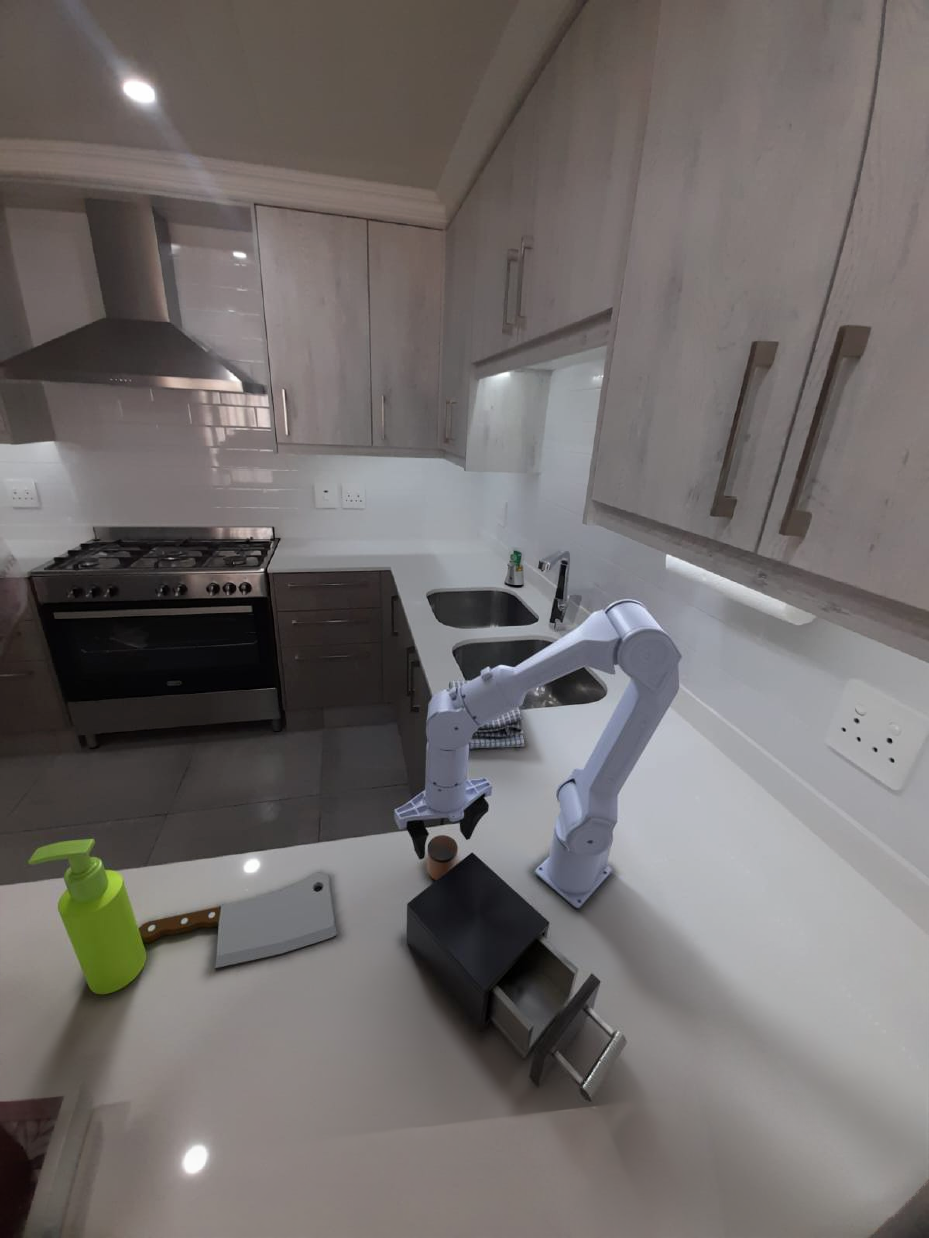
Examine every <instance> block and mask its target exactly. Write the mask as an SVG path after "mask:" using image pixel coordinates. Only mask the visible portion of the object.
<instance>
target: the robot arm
mask: <svg viewBox="0 0 929 1238" xmlns="http://www.w3.org/2000/svg"><path fill="white" fill-rule="evenodd" d="M682 658H683V655H682V652H681V651H680V650H679V648H678V647H677V645H676V643H675V642H674V640H673V638H672V637H671V636H670V634H668V633H667V632H666V631H665V630H663V628H662V626H660V625H659V623H658V622H657V621H656V620H655V618H654V617H653V616H652V614H651V613H650V610H648V609H647V607H646V606H645V605H644V604H643V603H642V602H640V601H638V600H635V599H633V598H632V599H631V598H624V599H623V598H622V599H619V600H616V601H614V602H612V603H611V604H609V605H608V606H607V607H606V608H605V609H600V610H597V611H594V612H593V613H591V614H590V615H589V616H588V617H587V618H586V620H584V621H583V622H582V623H581V624H580V625H579V626H577V627H576V628H575V629H573V630H572V631H570V632H568V633H567V634H565V635H564V636H562V637H561V638H559V639H558V640H556V641H554V642H553V643H550V645H548V646H546V647H545V648H543V649H541V650H540V651H538V652H537V653H535V654H533V655H532V656H530V657H529V658H527V659H525V660H523V661H522V662H521V663H519V664H517V665H516V666H509V665H506V664H499V665H497V666H495V667H493V668H491V667H490V666H486V667H485V668H483V669H482V670H480V675H479V676H477V677H475V678H473V679H471V680H468V681H469V682H468V683H466V684H464V685H462V686H460V687H459V688H457V687H454V688H452V689H449V688H448V689H442V690H440V691H437V693H434V695H433V696H432V697H431V698H430V700H429V702H428V703H427V710H428V711H427V716H426V722H425V735H426V740H427V742H426V747H425V750H426V751H425V781H424V782H425V783H424V786H425V787H424V790H423V791H421V792H420V793H419V794H416V795H415V796H414V797H413V798H412V799H410V800H409V801H408V802H406V803H405V804H403V805H402V806H400V807H397V808H394V812H393V815H394V818H393V819H394V822H395V824H396V826H397V827H398V830H399V831H400V830H404V829H406V831H407V833H408V834H409V836H410V838H411V842H412V845H413V850H414V852H415V854H416V856H417V858H418V859H419V860H423V859H425V856H426V844H427V840H428V837H429V835H430V833H429V831H428V829H427V827H426V826H425V820H434V819H446V818H447V819H448V820H449V822H452V823H455V822H457V821H459V831H460V833H461V834H462V836H463V838H464V839H465V841H469V840H470V839H471V838H472V836H473V834H474V831H475V829H476V827H477V825H478V824H479V822H480V820H481V819H482V818H483V817H484V816H485V815H486V814H487V813H488V812H489V809H490V805H489V804H490V803H489V802H488V801H487V799H486V798H488V797H491V796H492V791H493V785H492V783H491V782H490V781H489V779H487V777H486V776H484V777H482V778H481V777H480V778H477V779H476V778H475V779H468V768H469V767H468V766H469V756H470V755H469V753H470V748H469V745H468V743H469V742H470V740H471V738H472V735H473V733H474V732H476V731H478V728H479V727H481V726H483V725H485V724H487V723H489V722H491V721H493V720H495V719H497V718H499V717H501V716H503V715H504V714H506V713H508V712H510V711H512V710H514V709H516V708H518V707H519V708H520V707H522V706H523V705H524V701H525V698H526V696H527V693H528V692H531V691H533V690H535V689H537V688H539V687H542V686H544V685H546V684H548V683H551V682H553V681H555V680H558V679H560V678H562V677H564V676H567V675H569V674H570V673H573V672H576V671H578V670H580V669H582V668H585V667H588V668H591V669H594V670H596V671H599V672H603V673H605V674H608V675H612V676H613V675H616V669H615V666H619V668H620V670H621V671H622V672H623V673H624V674H625V675H626V676H627V677H629V678H630V681H629V682H628V684H627V686H626V688H625V690H624V692H623V694H622V696H621V698H620V699H619V700H618V702H617V705H616V707H615V709H614V711H613V713H612V714H611V716H610V718H609V719H608V722H607V724H606V726H605V728H604V730H603V731H602V733H601V735H600V737H599V739H598V740H597V742H596V745H594V746H595V747H594V749H593V750H592V753H591V754H590V756H589V758H588V760H587V761H586V763H585V765H584V767H575V768H573V770H572V772H571V774H570V775H569V776H568V777H567V778H565V779H564V780H563V781H562V782H560V783H559V785H558V786H557V788H556V792H555V793H556V795H555V796H556V799H557V802H558V804H559V810H560V812H559V814H558V816H557V817H556V820H555V822H554V828H553V834H552V838H551V839H552V840H551V845H550V850H549V855H548V857H547V858H546V859H545V860H544V861H543V862H542V863H541V864H540V865H538V866H537V868H536V869H535V871H534V873H535V875H536V876H538V878H540V879H541V880H542V881H543V882H545V883H546V884H547V885H548V886H549V887H551V889H553V891H555V892H556V893H557V894H559V895H560V896H561V897H563V899H565V900H566V901H567V902H568V903H569V904H570V905H572V906H573V907H574V908H576V909H580V908H581V907H582V906H583V905H584V903H586V901H587V900H588V899H590V897H591V896H592V894H594V892H595V891H596V890H597V889H598V888H599V886H601V885H602V883H604V881H605V880H606V879H607V878H608V877H609V876H610V874H611V873H612V869H613V868H612V867H611V866H610V865H608V861H609V857H610V853H611V850H612V849H611V848H612V845H613V841H614V829H615V827H616V826H617V824H618V810H619V809H618V807H619V806H618V805H619V803H618V801H619V800H618V799H619V797H618V796H619V793H620V792H621V790H622V789H623V786H625V783H626V781H627V780H628V778H629V776H630V774H631V773H632V771H633V770H634V768H635V766H636V764H637V763H638V761H639V760H640V758H641V756H642V754H643V753H644V751H645V749H646V747H647V745H648V744H649V743H650V741H651V739H652V738H653V735H654V734H655V732H656V730H657V728H658V727H659V726H660V724H661V722H662V720H663V719H664V717H665V715H666V713H667V711H668V709H669V708H670V707H671V704H672V702H673V701H674V700H675V698H676V696H677V695H678V692H679V690H680V670H679V663H680V662H681V659H682Z"/></svg>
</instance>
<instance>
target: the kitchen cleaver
mask: <svg viewBox="0 0 929 1238" xmlns="http://www.w3.org/2000/svg"><path fill="white" fill-rule="evenodd" d="M319 887H321V888H322V889H321V890H319V891H315V889H316V888H319ZM330 888H331V886H330V879H329V875H328V874H325V873H322V872H319V871H318V872H317V873H314V874H313V875H311V876H310V877H308V878H306V879H304V880H302V881H300V882H298V883H296V884H293V885H290V886H288V887H286V888H285V887H284V888H283V889H280V890H277V891H274V892H270V893H267V894H264V895H261V896H258V897H254V898H250V899H246V900H241V901H237V902H232V903H228V904H224V905H219V906H216V907H210V908H205V909H201V910H197V911H192V912H188V913H182V914H177V915H173V916H169V917H163V918H159V919H154V920H150V921H147V922H145V923H143V924H142V925H140V926H139V927H138V929H139V932H140V935H141V938H142V941H143V944H146V943H152V942H155V940H158V939H159V938H161V937H162V936H167V935H173V936H175V935H179V934H182V933H188V932H191V931H194V930H196V929H199V928H202V927H203V928H208V929H211V928H216V927H217V928H218V929H217V944H216V958H215V964H214V969H219V968H223V967H227V966H232V965H237V964H241V963H246V962H251V961H256V960H259V959H264V958H269V957H272V956H277V955H282V954H286V953H288V952H292V951H295V950H298V949H301V948H304V947H308V946H311V945H313V944H317V943H320V942H323V941H327V940H330V939H332V938H334V937H336V936H337V935H338V933H337V927H336V925H335V918H334V917H335V916H334V909H333V902H332V901H333V900H332V894H331V893H332V892H331V889H330Z"/></svg>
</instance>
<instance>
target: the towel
mask: <svg viewBox="0 0 929 1238" xmlns="http://www.w3.org/2000/svg"><path fill="white" fill-rule="evenodd" d="M469 681H470V680H450V681H449V683H448V690H449V689H452V688H454V687H457V688H459V687H460V686H462V685H464V684H466V683H468V682H469ZM522 721H524V718H523V716H522V712H521V710H520V707H518V708H516V709H514V710H512V711H510V712H508V713H506V714H504V715H503V716H501V717H499V718H497V719H495V720H493V721H491V722H489V723H487V724H485V725H483V726H481V727H479V728H478V731H476V732H474V733H473V735H472V738H471V740H470V742H469V743H468V745H469V750H470V749H471V750H472V749H484V748H485V749H489V748H490V749H491V748H492V749H493V748H510V747H512V748H514V747H516V748H519V747H520V748H523V747H525V745H526V743H525V738H524V735H525V733H524V730H523V723H522Z"/></svg>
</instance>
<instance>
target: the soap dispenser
mask: <svg viewBox="0 0 929 1238" xmlns="http://www.w3.org/2000/svg"><path fill="white" fill-rule="evenodd" d="M95 844H96V841H95V838H85V839H84V838H83V839H74V840H66V841H58V842H54V843H50V844H47V845H43V846H41V847H38V848H36V850H35V851H34V852H33V854H32V855H31V857H30V859H29V860H28V861H27V864H28V865H31V866H35V865H40V864H42V863H47V862H52V861H59V860H68V863H69V867H68V868H67V869H66V871H65V872H64V874H63V881H64V884H65V887H66V889H65V891H64V892H63V893H62V894H61V896H60V897H59V900H58V903H57V910H58V913H59V916H60V918H61V921H62V924H63V925H64V927H65V931H66V933H67V936H68V938H69V941H70V943H71V945H72V948H73V951H74V953H75V956H76V958H77V960H78V963H79V965H80V968H81V970H82V973H83V976H84V978H85V980H86V984H87V985H88V988H89V989H90V991H91V992H92V993H94V994H97V995H108V994H111V993H115V992H118V991H119V990H121V989H123V988H124V987H126V986H128V985H129V984H130V983H131V982H132V981H134V980H135V979H136V978H137V976H139V974H140V973H141V971H142V970H143V968H144V966H145V964H146V961H147V952H146V948H145V945H144V942H143V941H142V938H141V935H140V932H139V926H138V923H137V920H136V915H135V914H134V910H133V907H132V904H131V900H130V898H129V897H130V896H129V895H128V891H127V888H126V884H125V881H124V879H123V876H122V874H121V873H120V872H119V871H116V870H113V869H105V867H104V863H103V860H102V859H101V858H100V857H97V856H90V853H91V851H92V849H93V847H94V846H95Z"/></svg>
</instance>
